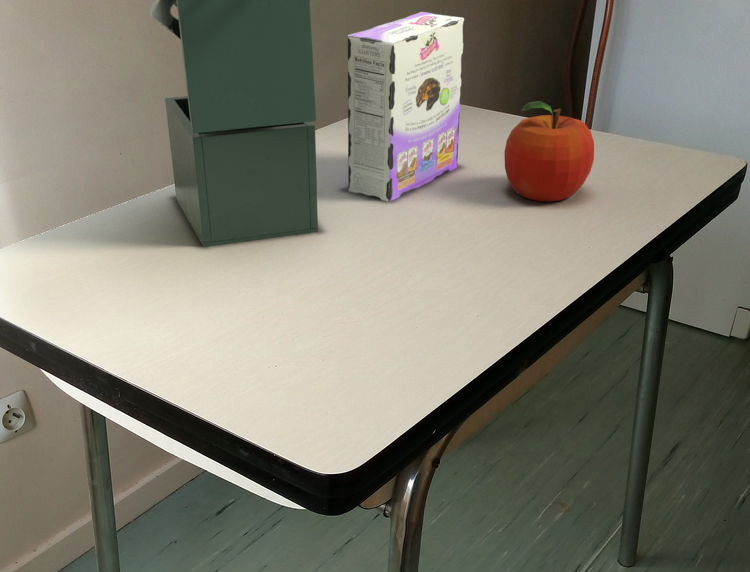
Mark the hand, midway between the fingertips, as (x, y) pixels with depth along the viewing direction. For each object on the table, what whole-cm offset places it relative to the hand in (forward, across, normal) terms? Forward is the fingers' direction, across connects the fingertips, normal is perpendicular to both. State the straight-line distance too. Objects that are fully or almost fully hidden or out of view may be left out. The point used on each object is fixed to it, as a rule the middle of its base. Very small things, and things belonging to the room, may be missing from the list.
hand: (236, 90), depth 97 cm
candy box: (+13, -19, -5) cm, 24 cm away
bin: (+13, 0, 0) cm, 13 cm away
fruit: (+13, -32, +4) cm, 35 cm away
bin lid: (-6, 0, +6) cm, 8 cm away
